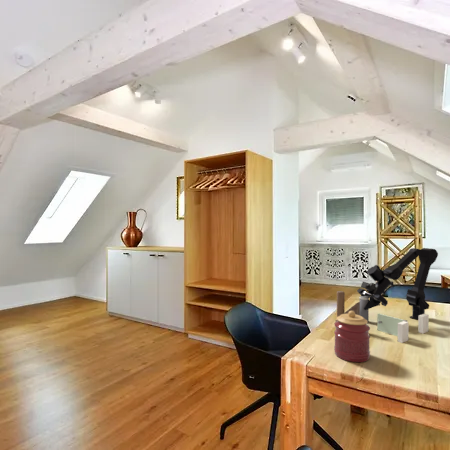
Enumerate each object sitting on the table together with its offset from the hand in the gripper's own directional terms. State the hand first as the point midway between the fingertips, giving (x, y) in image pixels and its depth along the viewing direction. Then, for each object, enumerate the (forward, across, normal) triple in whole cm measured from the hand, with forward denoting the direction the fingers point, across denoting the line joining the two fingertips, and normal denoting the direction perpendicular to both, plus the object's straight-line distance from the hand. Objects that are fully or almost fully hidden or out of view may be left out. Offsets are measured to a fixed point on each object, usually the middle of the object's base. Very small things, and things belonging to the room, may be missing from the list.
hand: (361, 308), depth 162 cm
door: (+3, +19, +7) cm, 21 cm away
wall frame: (-3, +23, +13) cm, 27 cm away
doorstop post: (+4, 0, +6) cm, 7 cm away
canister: (+26, +38, -16) cm, 48 cm away
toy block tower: (+15, +9, -5) cm, 18 cm away
